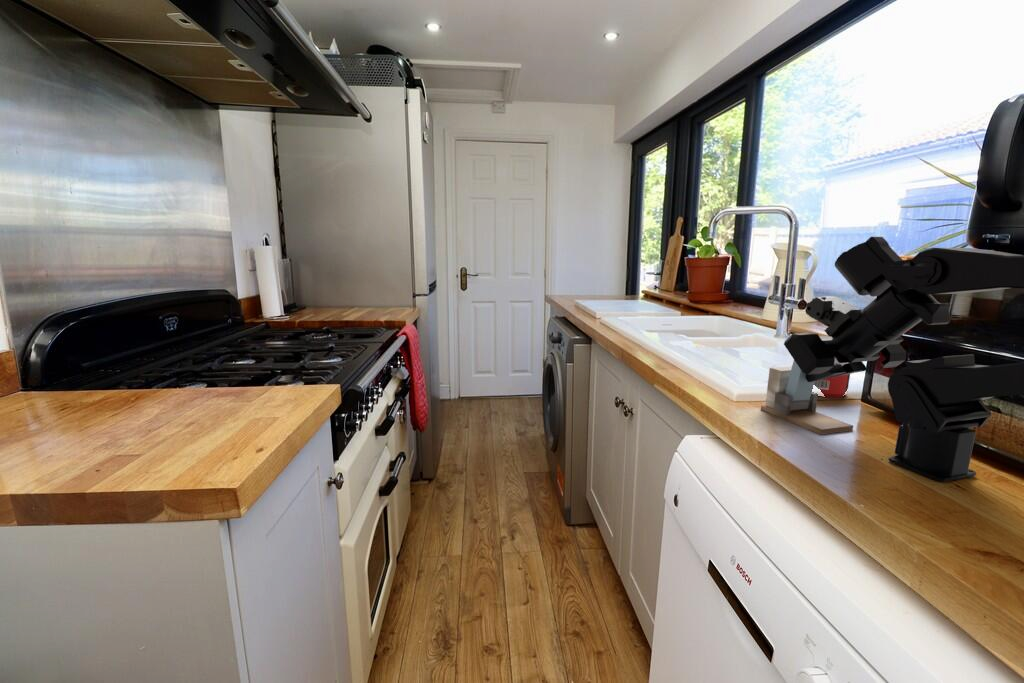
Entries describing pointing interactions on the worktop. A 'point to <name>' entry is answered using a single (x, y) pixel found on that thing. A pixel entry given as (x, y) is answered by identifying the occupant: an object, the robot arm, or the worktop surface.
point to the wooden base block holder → (806, 418)
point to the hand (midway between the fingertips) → (808, 379)
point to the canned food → (833, 382)
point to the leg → (798, 388)
